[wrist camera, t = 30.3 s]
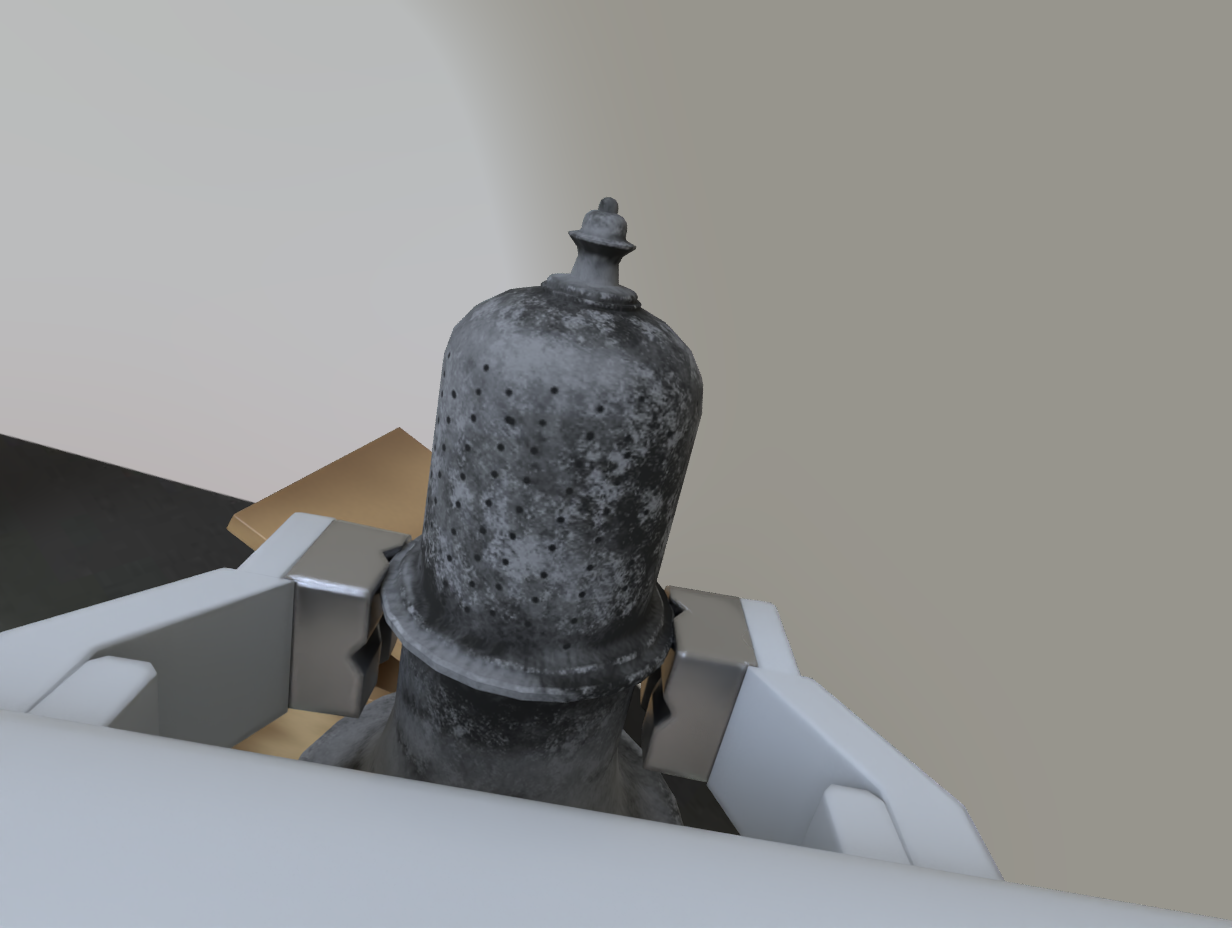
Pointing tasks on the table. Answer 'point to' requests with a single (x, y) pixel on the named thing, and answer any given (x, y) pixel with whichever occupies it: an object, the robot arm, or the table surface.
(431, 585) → the salt shaker
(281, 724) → the bin
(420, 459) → the bin lid
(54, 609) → the table surface
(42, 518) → the table surface
